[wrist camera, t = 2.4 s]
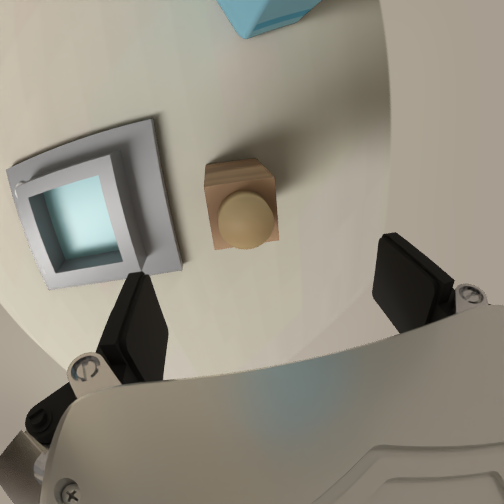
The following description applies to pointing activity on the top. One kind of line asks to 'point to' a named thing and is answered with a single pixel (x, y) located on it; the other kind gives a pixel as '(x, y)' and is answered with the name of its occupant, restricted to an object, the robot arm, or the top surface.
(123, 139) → the frame
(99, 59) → the top surface
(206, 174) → the wooden block with knob
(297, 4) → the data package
